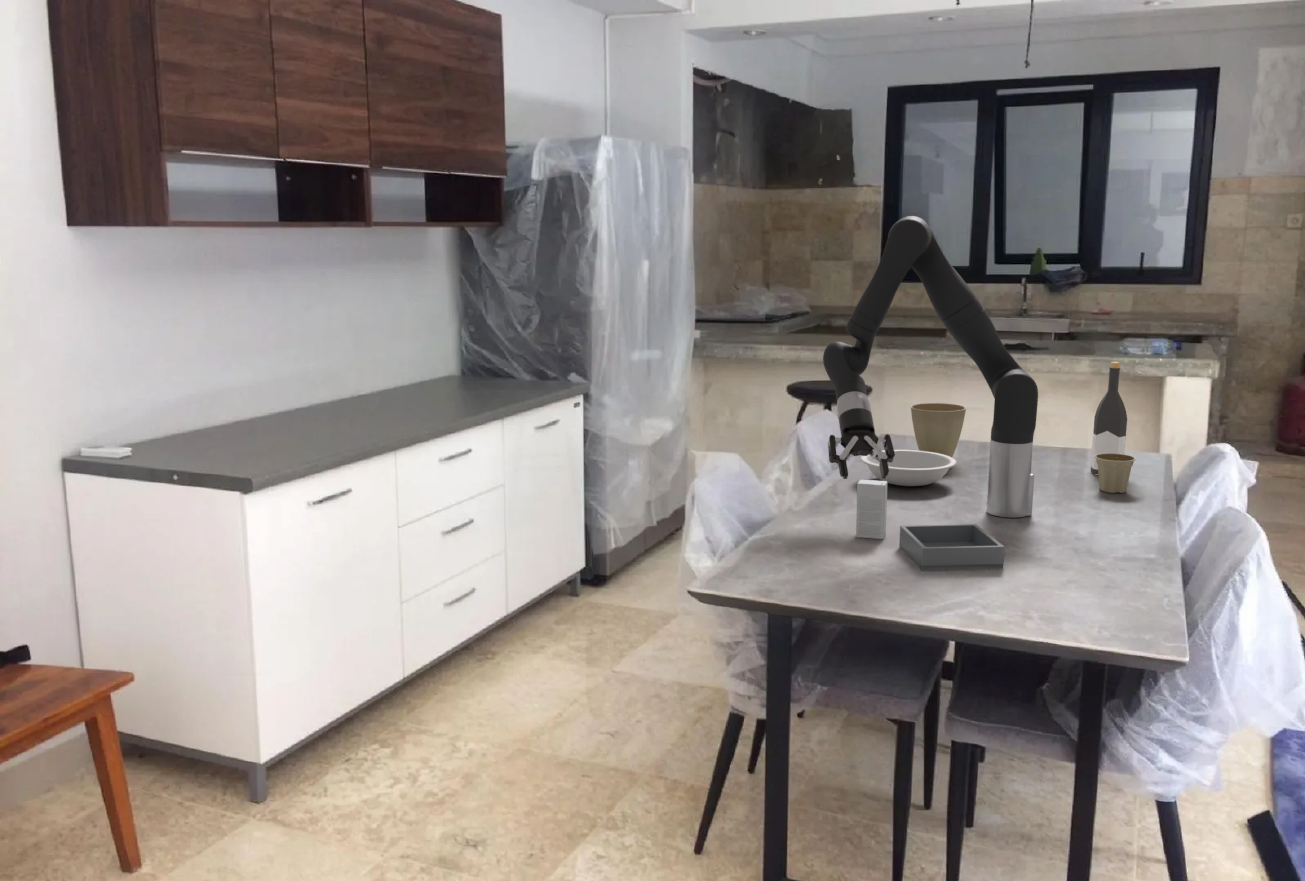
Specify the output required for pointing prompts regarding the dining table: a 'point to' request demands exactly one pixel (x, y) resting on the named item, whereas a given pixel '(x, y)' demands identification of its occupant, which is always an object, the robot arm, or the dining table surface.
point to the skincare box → (871, 509)
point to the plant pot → (938, 426)
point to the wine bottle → (1109, 421)
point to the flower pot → (1114, 471)
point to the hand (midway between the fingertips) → (865, 476)
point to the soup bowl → (912, 467)
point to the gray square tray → (951, 547)
